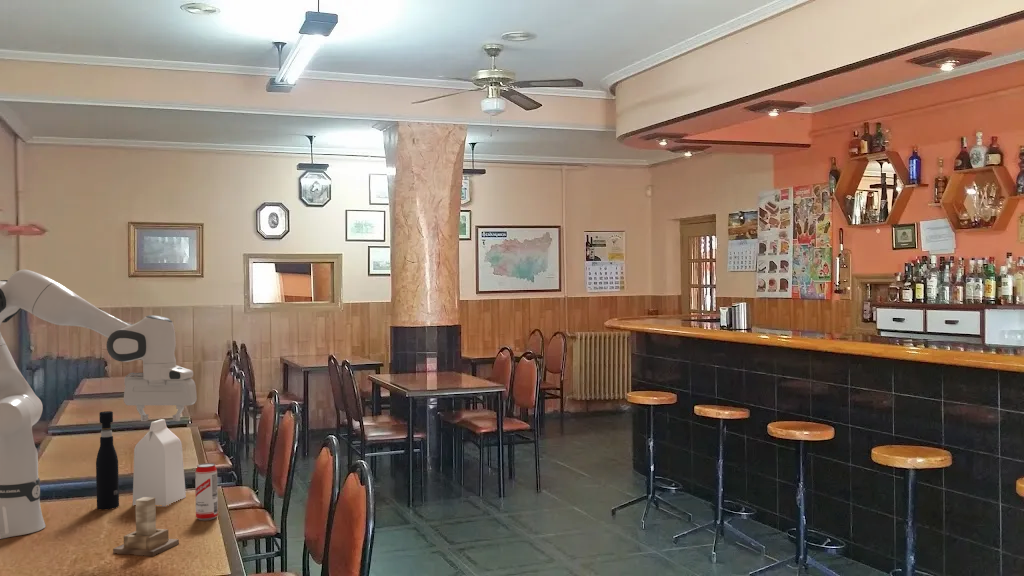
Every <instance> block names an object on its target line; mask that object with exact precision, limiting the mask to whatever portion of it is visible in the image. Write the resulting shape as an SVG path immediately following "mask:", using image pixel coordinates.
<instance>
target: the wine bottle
mask: <svg viewBox="0 0 1024 576" xmlns="http://www.w3.org/2000/svg"><path fill="white" fill-rule="evenodd" d="M98 415H99V424H101V431H100V437H99V443H100V445H99V448H98V451H97V455H96V461H95V468H96V469H95V474H96V475H95V479H96V482H95V483H96V486H95V487H96V508H97V510H99V509H108V510H113V509H112V508H114V509H117V508H119V507H120V493H119V492H120V490H119V487H120V486H119V460H118V459H119V458H118V454H117V451H116V447H115V446H114V436H113V431H112V426H111V425H112V423H114V412H113V411H111V410H109V411H100V412H99V414H98ZM118 506H119V507H118ZM116 507H117V508H116Z"/></svg>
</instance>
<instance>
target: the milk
mask: <svg viewBox="0 0 1024 576" xmlns="http://www.w3.org/2000/svg"><path fill="white" fill-rule="evenodd" d="M133 451H134V452H133V477H132V478H133V479H132V480H133V481H132V482H133V483H132V506H134V505H136V502H135V500H138V499H140V498H143V497H151V498H155V505H162V506H161V507H167V506H166V505H168V506H170V505H172V504H171V503H173V502H175V503H176V501H177V502H179V501H181V500H183V499H185V498H186V497H187V496H186V494H187V493H186V482H185V481H186V480H185V468H184V467H185V466H184V456H183V455H184V454H183V443H182V440H181V439H180V437H178V436H177V435H176V434H175V433H174V432H173V431H171V430H170V428H168V427H167V423H166V419H164V418H163V419H158V420H157V419H156V420H155V421H151V423H150V427H149V431H147V432H146V434H144V436H143V437H142V438H141V439H139V441H138V442H137V443H136V444H135V446H134V450H133ZM180 499H181V500H180ZM178 500H179V501H178ZM169 504H170V505H169ZM173 504H174V503H173Z"/></svg>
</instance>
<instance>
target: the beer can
mask: <svg viewBox="0 0 1024 576" xmlns="http://www.w3.org/2000/svg"><path fill="white" fill-rule="evenodd" d="M196 467H197V468H196V469H195V472H194V479H195V480H194V482H195V485H194V486H195V518H196V519H198V520H199V521H211V520H215V519H216V518H217V517H218V515H219V509H218V508H219V506H218V505H219V503H218V502H219V499H218V498H219V497H218V469H217V467H216V463H213V462H206V463H199V464H197V465H196Z"/></svg>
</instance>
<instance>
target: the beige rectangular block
mask: <svg viewBox="0 0 1024 576" xmlns="http://www.w3.org/2000/svg"><path fill="white" fill-rule="evenodd" d="M135 502H136V506H135V531H136V536H151V535H153V534H155V533H156V529H157V525H156V523H157V517H156V515H157V513H156V512H157V511H156V507H157V506H155V498H151V497H143V498H140V499H138V500H135Z"/></svg>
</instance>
